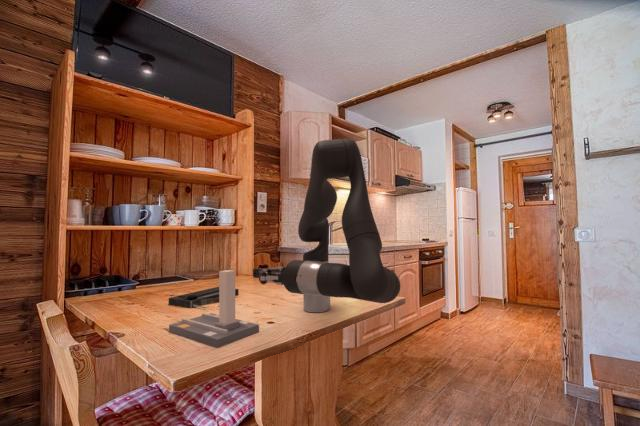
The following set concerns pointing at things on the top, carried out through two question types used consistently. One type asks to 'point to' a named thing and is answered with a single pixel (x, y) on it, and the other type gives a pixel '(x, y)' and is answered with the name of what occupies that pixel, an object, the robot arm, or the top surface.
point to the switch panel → (212, 330)
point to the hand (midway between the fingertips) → (254, 272)
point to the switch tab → (227, 300)
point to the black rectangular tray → (197, 298)
